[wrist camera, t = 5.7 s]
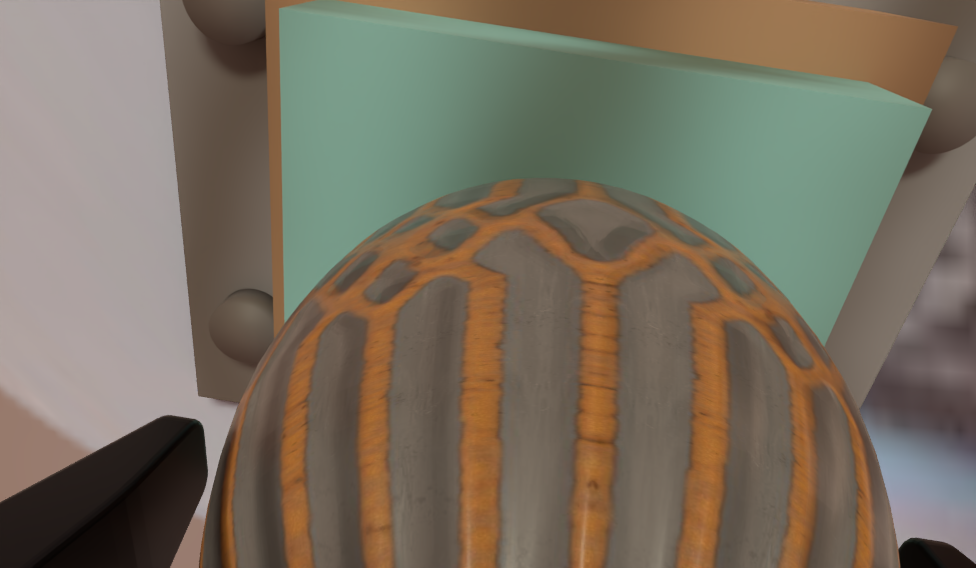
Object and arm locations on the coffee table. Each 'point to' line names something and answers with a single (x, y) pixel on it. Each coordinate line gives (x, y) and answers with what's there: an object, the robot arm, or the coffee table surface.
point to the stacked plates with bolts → (571, 140)
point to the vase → (547, 403)
